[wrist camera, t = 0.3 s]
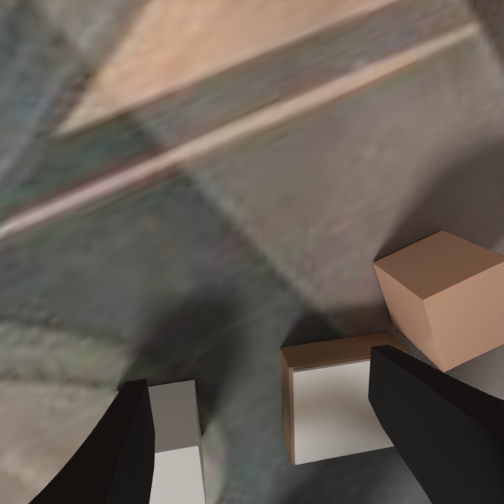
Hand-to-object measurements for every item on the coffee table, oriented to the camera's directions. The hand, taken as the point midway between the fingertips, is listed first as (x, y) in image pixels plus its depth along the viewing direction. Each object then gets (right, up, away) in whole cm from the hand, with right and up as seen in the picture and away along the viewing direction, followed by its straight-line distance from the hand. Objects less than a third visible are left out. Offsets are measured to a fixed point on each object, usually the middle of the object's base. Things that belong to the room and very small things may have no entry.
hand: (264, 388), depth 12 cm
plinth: (+5, -4, +13) cm, 15 cm away
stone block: (-6, -6, +11) cm, 14 cm away
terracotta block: (+9, +3, +11) cm, 15 cm away
